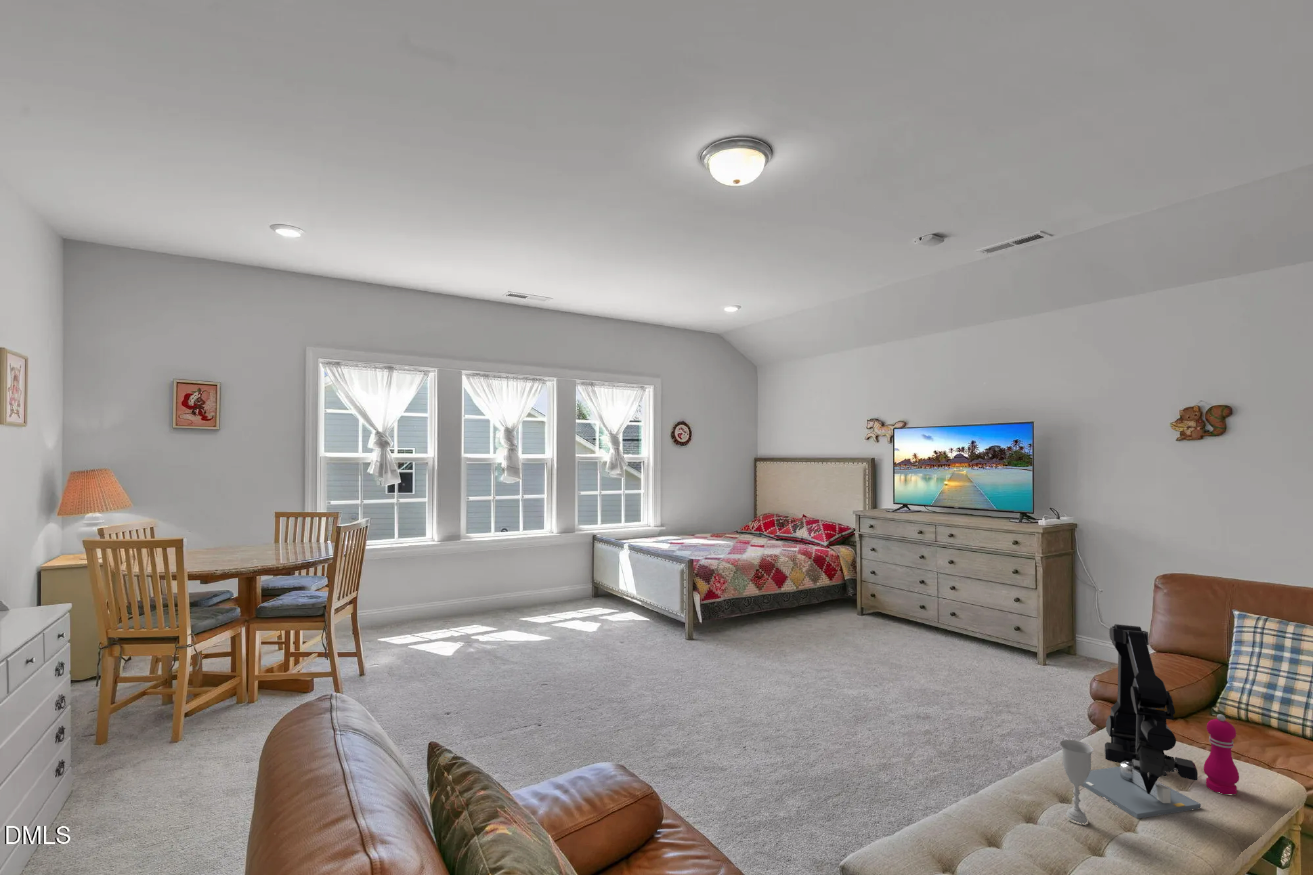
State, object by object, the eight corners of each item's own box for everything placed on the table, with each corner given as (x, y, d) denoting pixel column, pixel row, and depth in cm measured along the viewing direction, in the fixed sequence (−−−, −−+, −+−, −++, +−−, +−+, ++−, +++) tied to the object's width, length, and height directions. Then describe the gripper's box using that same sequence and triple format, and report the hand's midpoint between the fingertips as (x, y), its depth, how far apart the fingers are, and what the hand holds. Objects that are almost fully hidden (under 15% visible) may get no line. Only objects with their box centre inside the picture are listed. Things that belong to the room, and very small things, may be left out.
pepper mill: (1246, 797, 170) (1246, 721, 170) (1214, 794, 172) (1214, 718, 172) (1227, 783, 177) (1227, 710, 177) (1197, 780, 179) (1197, 707, 179)
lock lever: (1116, 773, 180) (1116, 758, 180) (1131, 773, 180) (1131, 758, 180) (1158, 803, 165) (1158, 786, 165) (1175, 803, 165) (1175, 786, 165)
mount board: (1068, 777, 180) (1068, 772, 180) (1127, 769, 185) (1127, 764, 185) (1137, 818, 161) (1137, 813, 161) (1200, 808, 165) (1200, 803, 165)
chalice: (1082, 830, 155) (1082, 755, 155) (1053, 816, 161) (1053, 743, 161) (1099, 822, 159) (1099, 748, 159) (1071, 808, 165) (1071, 737, 165)
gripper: (1107, 735, 165) (1105, 796, 166) (1202, 756, 155) (1200, 821, 156) (1105, 719, 175) (1103, 777, 175) (1194, 738, 165) (1193, 799, 165)
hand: (1148, 793), depth 167 cm, fingers closed
